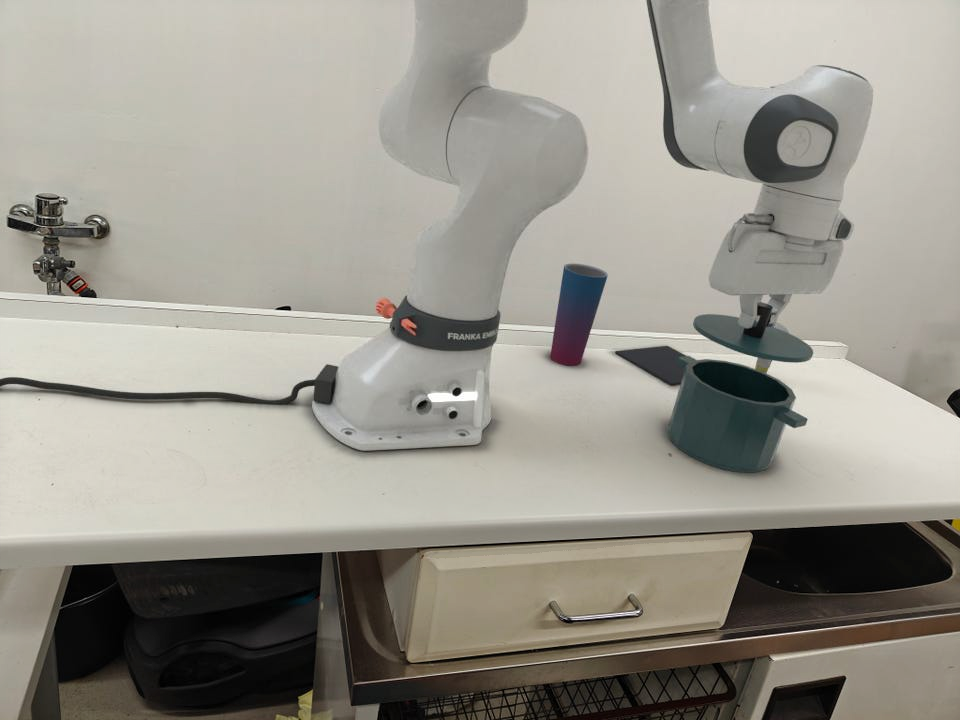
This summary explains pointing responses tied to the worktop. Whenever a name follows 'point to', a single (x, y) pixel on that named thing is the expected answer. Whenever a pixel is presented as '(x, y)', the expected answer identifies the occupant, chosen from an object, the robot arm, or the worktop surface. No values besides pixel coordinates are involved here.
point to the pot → (731, 414)
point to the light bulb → (765, 363)
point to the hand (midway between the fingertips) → (755, 326)
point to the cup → (576, 311)
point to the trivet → (657, 362)
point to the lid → (754, 337)
